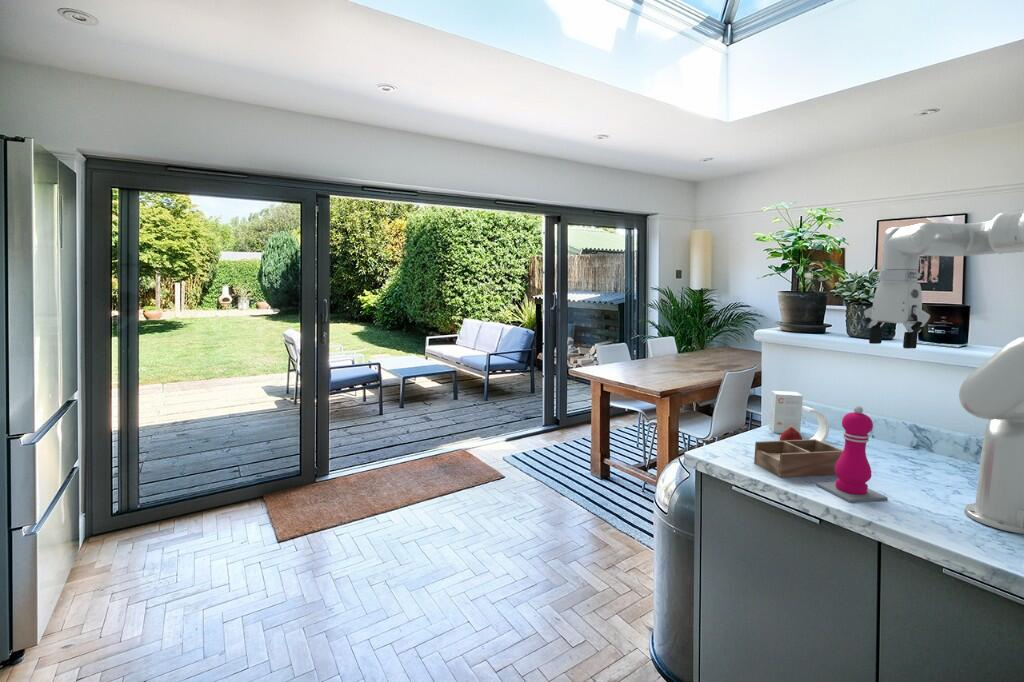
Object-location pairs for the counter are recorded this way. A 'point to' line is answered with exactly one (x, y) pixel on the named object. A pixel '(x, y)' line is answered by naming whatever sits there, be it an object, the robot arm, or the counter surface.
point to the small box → (785, 411)
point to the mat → (849, 497)
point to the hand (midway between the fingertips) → (891, 345)
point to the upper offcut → (775, 455)
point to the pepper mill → (854, 454)
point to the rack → (797, 457)
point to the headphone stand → (822, 427)
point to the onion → (790, 434)
